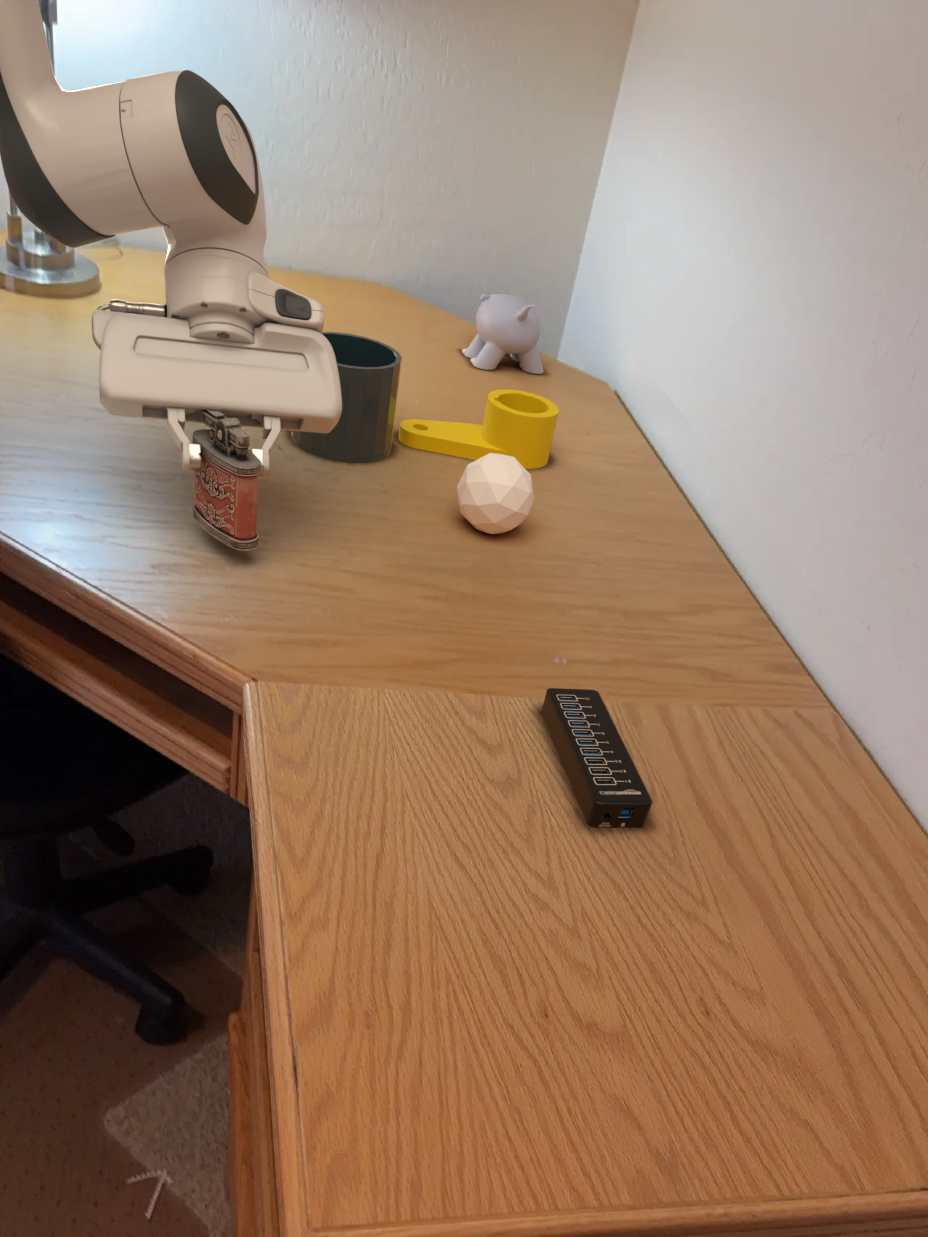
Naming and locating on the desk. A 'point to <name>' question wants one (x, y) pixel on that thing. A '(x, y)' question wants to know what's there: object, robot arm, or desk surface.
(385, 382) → the pen cup
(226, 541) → the lighter
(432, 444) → the crank
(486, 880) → the desk surface
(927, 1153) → the desk surface
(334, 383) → the robot arm
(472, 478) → the geometric ball
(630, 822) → the multiport hub
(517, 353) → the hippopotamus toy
